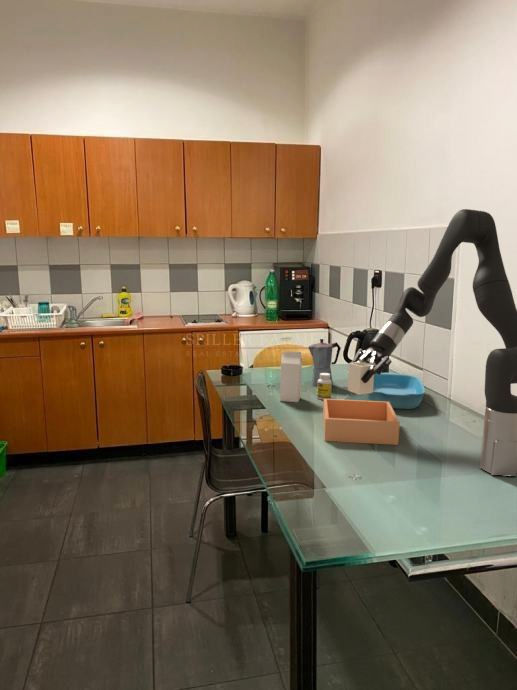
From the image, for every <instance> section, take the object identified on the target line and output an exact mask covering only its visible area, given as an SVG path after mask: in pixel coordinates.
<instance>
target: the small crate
mask: <svg viewBox="0 0 517 690" xmlns="http://www.w3.org/2000/svg"><path fill="white" fill-rule="evenodd" d="M370 366H371V365H370V363H366V362H365V361H364V362H363V363H362V362H357V361H356V362H354V363H352V362H349V363H348V374H349V376H348V377H347V378H348V379H347V381H348V382H347V391H348V392H351V393H353V394H356V395H359V396H360V395H367V394H368V393H373V383H374V375H373V376H372V377H371V378H370V379H369V381H368V382H367V383H363V382H362V380H361V378H362V377H363V375H364V374H365V373H366V371H367V370H369V367H370ZM373 368H374V367H373Z"/></svg>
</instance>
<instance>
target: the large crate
mask: <svg viewBox="0 0 517 690" xmlns="http://www.w3.org/2000/svg"><path fill="white" fill-rule="evenodd" d="M322 408H323V411H322V423H323V424H322V425H323V435H324V439H323V440H324V441H325V442H336V441H337V442H338V443H341V442H342V443H359V444H360V443H361V444H374V445H375V444H376V445H377V444H380V445H394V446H398V445H399V438H400V424H401V423H400V420H399V418H398V417H397V414H396V412H395V410H394V408H392V406H391V404H390V403H389V402H385V401H369V400H360V399H340V398H339V399H338V398H330V399H324V400H323V406H322Z"/></svg>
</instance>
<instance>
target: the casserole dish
mask: <svg viewBox="0 0 517 690" xmlns="http://www.w3.org/2000/svg"><path fill="white" fill-rule="evenodd" d="M374 388H375V389H374ZM376 388H379V389H376ZM425 389H426V388H425V386H424V384H423V382H422V380H421V379H420V377H418V376H416V375H411V374H404V373H397V372H396V373H394V372H382V373H381V374H379V375H378V374H375V375H374V383H373V393H368V394H366V396H367V399H368V401H385V402H389V403H390V404H391V406H392V408H393V409H398V410H399V409H400V410H413V409H414V410H415V409H416V408H417V407H419V405H420V404H421V402H422V401H423V397H424V395H425V393H426V390H425Z"/></svg>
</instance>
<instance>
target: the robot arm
mask: <svg viewBox="0 0 517 690" xmlns="http://www.w3.org/2000/svg"><path fill="white" fill-rule="evenodd" d="M462 243H465V244H466V243H467V244H473V245H474V247H475V249H476V252H477V253H476V254H477V257H478V265H477V268H476V270H475V274H474V276H473V280H472V292H473V296H474V299H475V302H476V303H475V304H476V305H477V308H478V310H479V312H480V314H481V315H482V316H483V317H484V318H485V319H486V320H487V321H488V323H490V325H492V327H493V328H494V329H495V330H496V331H497V333H498V334H499V335H500V337H501V339H502V341H503V344H504V346H505V348H495V349H493V350H491V351H490V352H489V354H488V356H487V358H486V363H485V373H484V374H485V376H484V397H485V409H484V410H485V411H484V419H483V428H482V437H481V438H482V439H481V440H482V441H481V448H480V458H479V468H480V467H481V468H482V469H483V470H485V471H487V472H489V473H491V474H492V475H511V476H516V477H517V474H516V473H517V395H515V394H512V384H514V385H515V384H517V307H516V304H515V299H514V296H513V291H512V288H511V284H510V281H509V278H508V276H507V272H506V269H505V264H504V261H503V257H502V254H501V249H500V244H499V238H498V231H497V226H496V222H495V219H494V216H492V215H491V213H489V212H487V211H483V210H475V209H468V208H465V209H459V210H458V211H457V212H456V213H455V214H454V215H453V216H452V218H451V220H450V221H449V223H448V225H447V227H446V229H445V231H444V234H443V236H442V238H441V240H440V241H439V245H438V246H437V249H436V251H435V254H434V256H433V258H432V259H431V261H430V263H429V264H428V266H427V267H426V268H425V270H424V271H423V273H422V275H420V277H419V279H418V281H417V288H418V289H417V288H415V287H413V286H412V287H408V288H406V289H405V290H403V292H402V294H401V296H400V298H399V302H398V305H397V307H396V308H395V311H394V312H393V313H392V315H391V317H389V319H388V320H387V322H385V324H384V325H382V327H381V328H380V329H379V331H378V332H377V333H376V334H375V336H374V337H373V338H372V339H371V340H370V342H369V347H368V348H367V349H365V350H363V349H362V348H359V349H358V350H357V352H356V354H355V355H354V357H353V359H352V360H351V363H354V362H362V363H363V362H366V363H370V365H371V366H370V367H369V370H367V371H366V373H365V374H364V375H363V377H362V378H361V380H362V382H363V383H367V382H368V381H369V379H370V378H371V377H372V376H373V375H375V374H378V375H379V374H381V373H384V371H385V370H386V369H387V368H388V367H389V366H390V365H391V364H392V359H390V356H391V355H392V353H393V352H394V351H395V350H396V348H397V347H398V346H399V345H400V343H401V342H402V340H403V339H404V337H405V335H406V334H407V333H408V331H410V329H411V327H412V326H413V324H414V320H413V317H412V316H411V315H410V314H409V312H411V313H413V314H414V315H415V316H416V317H419V318H422V317H423V318H424V317H427V316H428V315H429V314H430V312H431V311H432V309H433V306H434V302H435V299H436V296H437V295H438V293H439V291H440V289H441V288H442V287H443V285H444V284H445V283H446V282H447V280H448V279H449V277H450V274H451V271H452V260H453V259H452V258H453V254H454V252H455V251H456V249H457V248H459V246H460V244H462ZM407 310H408V311H409V312H408V311H407ZM373 367H374V368H373ZM348 376H349V373H348ZM481 468H480V469H481ZM482 469H481V470H482ZM483 470H482V471H483ZM485 471H484V472H485ZM487 472H486V473H487ZM489 473H488V474H489ZM491 474H490V475H491ZM492 475H491V476H492Z"/></svg>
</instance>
